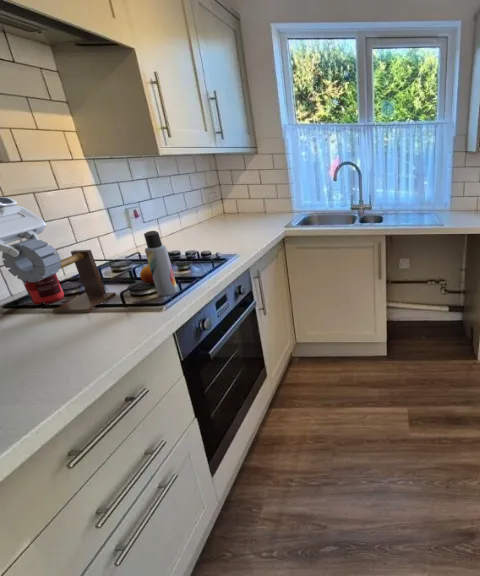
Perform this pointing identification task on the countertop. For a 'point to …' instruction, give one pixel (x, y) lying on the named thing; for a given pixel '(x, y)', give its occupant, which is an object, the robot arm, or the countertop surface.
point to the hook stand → (85, 284)
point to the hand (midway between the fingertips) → (30, 250)
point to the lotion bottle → (160, 264)
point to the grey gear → (33, 261)
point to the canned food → (44, 290)
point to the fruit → (147, 275)
